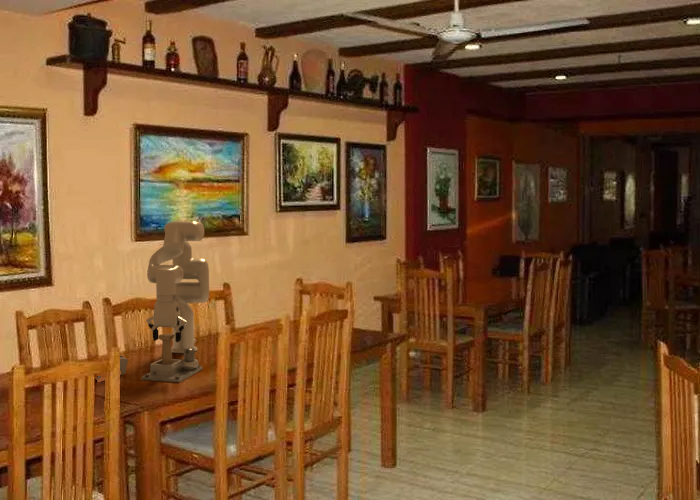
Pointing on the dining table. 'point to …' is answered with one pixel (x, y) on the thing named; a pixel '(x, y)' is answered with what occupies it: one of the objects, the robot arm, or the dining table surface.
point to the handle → (166, 348)
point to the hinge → (122, 366)
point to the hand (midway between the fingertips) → (167, 340)
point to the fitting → (174, 368)
